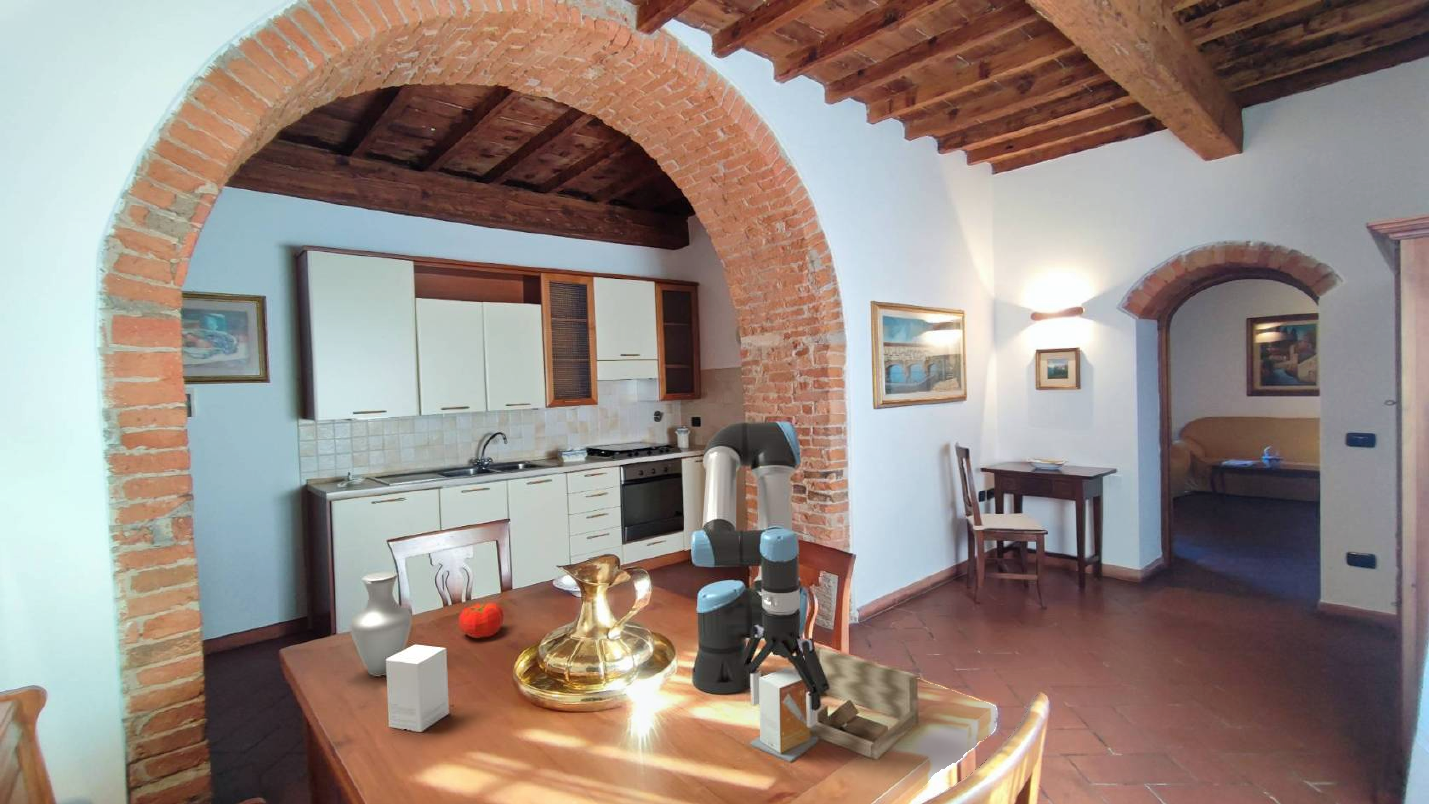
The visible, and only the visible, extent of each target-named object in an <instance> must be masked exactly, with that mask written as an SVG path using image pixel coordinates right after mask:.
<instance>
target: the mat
mask: <svg viewBox="0 0 1429 804" xmlns="http://www.w3.org/2000/svg"><path fill="white" fill-rule="evenodd" d="M819 741H820V738H818V737H816V736H813V735H811V734H810V740H809V741H807V742H804V743H802V744H800V745H798V746H795V747H793V748H791V749H789V750H787V751H785V752H783V753H779V752H777V751H775V750H774V749H772V748H771V747H769V746H767V745H766V744H764V743H763V742H761V741H760V735H759V736H757V737H756V738H754V739H753V740H752V741H749V743H748V745H749V747H750V746H751V747H753V748H755V749H758V750H760V751H762V752H765V753H768V755H769V754H770V755H771V756H774V757H776V758H779V759H781V760H784V761H786V762H788V763H792V762H793V761H795V760H796V759H797V758H799V757H800V756H801V755H802V754H804V753H805V752H806V751H807V750H809V749H811V748H812V747H813V746H814V745H816V744H817V743H818V742H819Z"/></svg>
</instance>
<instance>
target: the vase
mask: <svg viewBox="0 0 1429 804" xmlns="http://www.w3.org/2000/svg"><path fill="white" fill-rule="evenodd" d="M398 575H399V574H398V573H397V572H396V571H382V572H381V571H380V572H378V571H377V572H374V573H369V574H366V575H365V576H362V577H361V579H362V581H363V584H364V586H365V588H366V591H367V594H368V600H367V603H366V605H365V608H364V609H363V610H362V611H361V612H359V613H358V614H357V615H356V616H355V617H354V618H353V619H352V620H351V622H350V627H349V628H350V629H349V630H350V634H351V637H352V639H353V642H354V644H355V648H356V650H357V651H358V654H359V657H360V660H361V661H362V663H363V664H364V665H363V666H365V669H366V670H367V672H368V673H369V675H370V674H371V675H383V674H387V671H386V659H388V658H389V657H391V656H393V655H395V654H397V653H400V652H402V651H404V650H406V646H407V643H408V640H409V636H410V634H411V633H410V632H411V628H412V623H413V615H412V613H411V611H410V610H408V608H406V607H404V606H402V605H400V604H398V603H397V602H396V600H395V598H394V596H393V590H394V587H395V582H396V580H397V577H398Z"/></svg>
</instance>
